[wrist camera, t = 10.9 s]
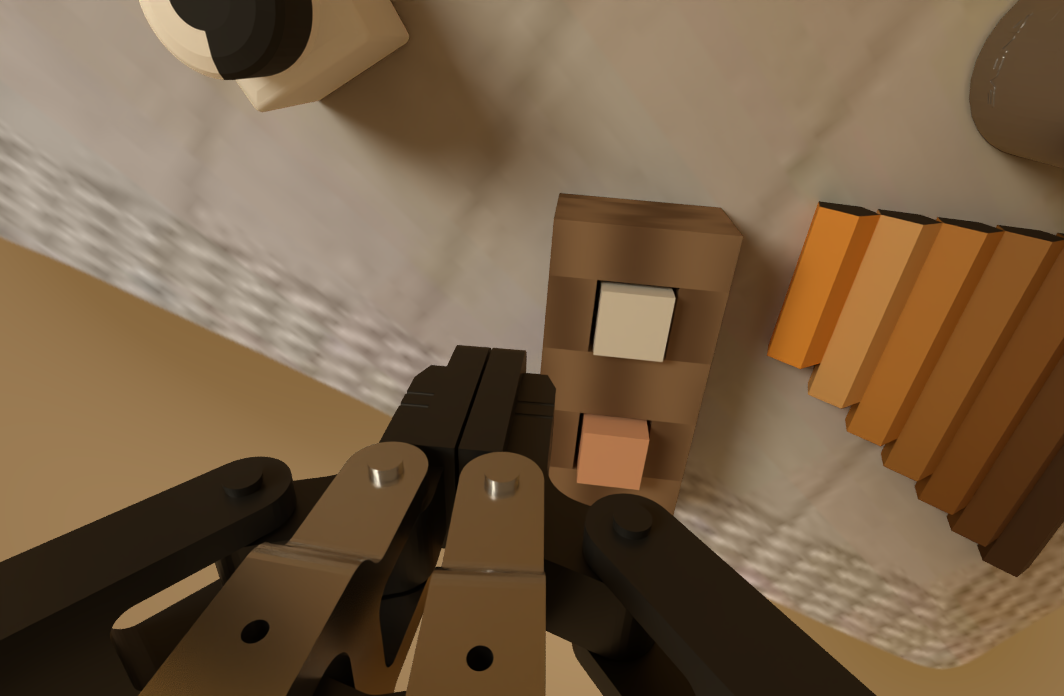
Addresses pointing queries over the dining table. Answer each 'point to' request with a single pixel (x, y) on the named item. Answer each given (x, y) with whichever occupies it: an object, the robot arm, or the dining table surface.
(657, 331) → the beige rectangular block
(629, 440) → the orange-brown rectangular block
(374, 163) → the dining table surface
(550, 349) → the board
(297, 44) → the medicine bottle
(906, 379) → the pan flute
